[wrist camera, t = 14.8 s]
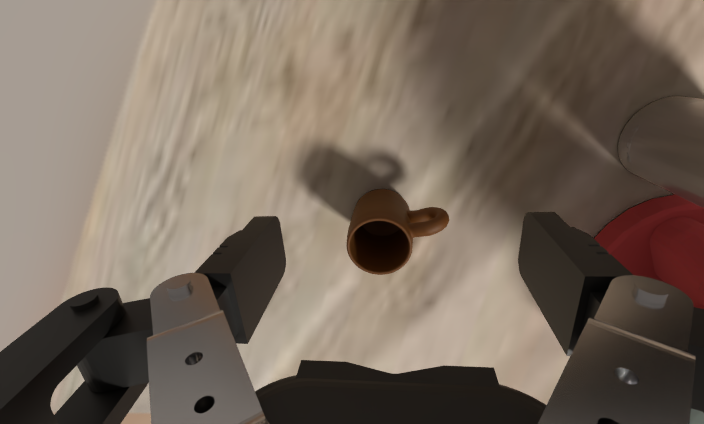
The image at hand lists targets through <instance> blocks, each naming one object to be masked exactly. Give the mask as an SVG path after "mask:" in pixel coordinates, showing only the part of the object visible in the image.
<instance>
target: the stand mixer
mask: <svg viewBox="0 0 704 424" xmlns="http://www.w3.org/2000/svg"><path fill="white" fill-rule="evenodd" d="M594 239H595V240H596V241H597V242H598V243H599V244H600V246H602V247H603V248H605V249H606V250H607V251H608V252H609V254H611V255H612V256H613V257H614V258H615V259H617V260H618V261H619V262H620V263H621V264H622V265H623V266H624V267H625V268H626V269H627V270H629V271H630V272H631V273H632V274H633V275H636V276H643V277H649V278H653V279H656V280H659V281H662V282H665V283H668V284H670V285H672V286H674V287H676V288H678V289H680V290H681V291H682V292H684V293H685V294H686V295H688V296H689V297H690V299H691V300H692V302H693V305H694V307H696V308H701V309H704V208H702V207H700V206H698V205H696V204H694V203H692V202H690V201H688V200H686V199H684V198H682V197H680V196H678V195H676V194H675V195H670V196H665V197H660V198H654V199H650V200H648V201H646V202H644V203H641V204H639V205H637V206H635V207H632V208H630V209H628V210H627V211H625V212H624V213H623V214H621V215H620V216H618V217H617V218H616V219H614V220H613V221H611V222H610V223H609V224H607V225H606V226H605V228H604V229H603V230H602V231H601V232H600V233H599V234H598V235H597V236H596V237H595V238H594ZM690 424H704V413H703V412H702V411H698V410H695V409H691V413H690Z"/></svg>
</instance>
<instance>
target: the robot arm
mask: <svg viewBox="0 0 704 424" xmlns="http://www.w3.org/2000/svg"><path fill="white" fill-rule="evenodd" d="M618 153H619V158H620V160H621V163H622V164H623V165H624V167H625V168H626V169H627V170H629V171H630V172H631V173H633V174H635V175H637V176H639V177H641V178H643V179H645V180H647V181H649V182H651V183H653V184H655V185H657V186H659V187H661V188H663V189H665V190H668V191H670V192H672V193H674V194H676V195H678V196H680V197H682V198H684V199H686V200H688V201H690V202H692V203H694V204H696V205H698V206H700V207H702V208H704V99H699V98H692V97H684V96H672V97H667V98H662V99H659V100H657V101H655V102H652V103H650V104H648V105H647V106H645V107H644V108H642V109H641V110H640V111H638V112H637V113H636V114H635V115H634V116H633V117H632V118H631V119H630V120H629V122H628V123H627V124H626V126H625V127H624V129H623V131H622V133H621V136H620V139H619V144H618ZM518 264H519V271H520V274H521V276H522V278H523V280H524V282H525V284H526V285H527V287H528V289H529V291H530V292H531V294H532V296H533V298H534V299H535V301H536V303H537V305H538V306H539V308H540V310H541V312H542V313H543V315H544V317H545V319H546V320H547V322H548V324H549V326H550V327H551V329H552V331H553V332H554V334H555V336H556V338H557V339H558V341H559V343H560V345H561V346H562V348H563V350H564V352H565V353H566V355H567V356H570V358H569V360H568V362H567V364H566V366H565V368H564V370H563V373H562V375H561V377H560V379H559V381H558V383H557V385H556V387H555V389H554V391H553V393H552V395H551V397H550V399H549V401H548V404H547V405H545V404H544V403H542V402H540V401H538V400H537V399H535V398H533V397H531V396H529V395H527V394H525V393H522V392H520V391H518V390H515V389H512V388H509V387H507V386H503V385H499V383H498V380H497V377H496V373H495V370H494V368H488V367H462V366H440V367H434V368H428V369H423V370H417V371H411V372H406V373H400V374H391V373H386V372H382V371H379V370H375V369H371V368H367V367H364V366H360V365H356V364H352V363H348V362H335V361H310V360H301V363H300V366H299V370H298V373H297V375H296V376H291V377H287V378H284V379H280V380H278V381H275V382H273V383H270V384H268V385H266V386H264V387H262V388H260V389H259V390H257V391H254V388H253V386H252V383H251V381H250V378H249V375H248V373H247V370H246V368H245V365H244V363H243V360H242V358H241V355H240V353H239V350H238V348H237V345H236V343H242V344H248V342H249V340H250V338H251V337H252V335H253V333H254V331H255V329H256V327H257V325H258V323H259V321H260V319H261V317H262V315H263V313H264V311H265V309H266V308H267V306H268V304H269V302H270V300H271V298H272V296H273V294H274V292H275V290H276V288H277V286H278V284H279V282H280V280H281V279H282V277H283V275H284V272H285V267H286V257H285V250H284V245H283V239H282V233H281V227H280V222H279V219H278V218H277V217H276V216H262V217H254V218H253V219H252V220H251V221H250V222H249V223H248V224H247V225H246V226H245V228H244V229H243V230H240V231H238V232H236V233H235V234H233V235H231V236H229V237H228V238H227V239H226V240H225V241H224V242H223V243H222V244H221V245H220V248H217V249H216V250H215V251H214V252H213V255H211V256H210V257H209V258H208V259H207V260H206V261H205V262H204V263H203V264H202V265H201V266H200V267H199V268H198V270H197V271H196V272H195V273H187V274H182V275H178V276H175V277H172V278H170V279H168V280H166V281H164V282H162V283H161V284H159V285H158V286H157V287H156V288H155V289H154V290H153V291H152V292H151V295H150V298H149V299H143V300H138V301H132V302H127V303H122V301H121V298H120V296H119V293H118V291H117V290H116V289H113V288H98V289H93V290H90V291H86V292H83V293H81V294H78V295H76V296H74V297H72V298H70V299H68V300H67V301H65V302H63V303H62V304H61V305H59V306H58V307H57V308H55V309H54V310H53V311H52V312H51V313H49V314H48V315H47V316H45V317H44V318H43V319H42V320H40V321H39V322H38V323H36V324H35V325H34V326H33V327H31V328H30V329H29V330H28V331H26V332H25V333H24V334H23V335H21V336H20V337H19V338H17V339H16V340H15V341H14V342H12V343H11V344H10V345H9V346H7V347H6V348H5V349H4V350H2V351H1V352H0V424H120V423H121V422H122V420H123V419H124V417H125V416H126V415H127V413H128V412H129V410H130V409H131V408H132V406H133V405H134V403H135V402H136V400H137V399H138V397H139V396H140V395H141V393H142V392H143V390H144V389H145V387H146V386H147V384H148V383H149V391H150V408H151V424H690V413H691V409H695V410H698V411H702V412H703V413H704V309H701V308H696V307H694V305H693V302H692V300H691V299H690V297H689V296H688V295H686V294H685V293H684V292H682V291H681V290H680V289H678V288H676V287H674V286H672V285H670V284H668V283H665V282H662V281H659V280H656V279H653V278H649V277H643V276H636V275H633V274H632V273H631V272H630V271H629V270H627V269H626V268H625V267H624V266H623V265H622V264H621V263H620V262H619V261H618V260H617V259H615V258H614V257H613V256H612V255H611V254H609V252H608V251H607V250H606V249H605V248H603V247H602V246H600V244H599V243H598V242H597V241H596V240H595V239H594V238H593V237H591V236H590V235H589V234H587V233H585V232H583V231H581V230H578V229H576V228H574V227H569V226H568V225H567V224H566V223H565V222H564V221H563V220H562V219H561V218H560V217H559V216H558V215H557V214H556V213H555V212H528V213H526V215H525V217H524V221H523V228H522V235H521V242H520V250H519V258H518ZM76 365H77V366H78V368H79V370H80V372H81V374H82V376H83V378H84V380H85V381H84V382H83V383H82V385H81V386H80V387H79V388H78V389H77V390H76V391H75V392H74V394H73V395H72V396H71V397H70V398H69V399H68V400H67V401H66V402H65V404H64V405H63V406H62V407H61V408H60V409H59V410H58V411H57V413H56V414H55V415H54V414H53V412H52V410H51V407H50V402H51V397H52V394H53V392H54V390H55V388H56V387H57V385H58V384H59V383H60V382H61V381H62V380H63V379H64V378H65V377H66V376H67V375H68V374H69V373H70V372H71V371H72V369H73V368H74V367H75V366H76Z"/></svg>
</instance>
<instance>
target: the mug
mask: <svg viewBox="0 0 704 424" xmlns="http://www.w3.org/2000/svg"><path fill="white" fill-rule="evenodd" d="M448 222H449V215H448V214H447V212H446V211H445V210H443V209H441V208H437V207H429V208H424V209H420V210H415V211H410V210H409V207H408V205H407V203H406V201H405V200H404V199H403V198H402V197H401V196H400V195H399V194H397V193H396V192H394V191H391V190H387V189H376V190H372V191H370V192H368V193H366V194H365V195H363V196H362V197H361V198H360V199H359V201H358V202H357V204H356V206H355V209H354V212H353V216H352V219H351V222H350V226H349V230H348V235H347V251H348V254H349V256H350V258H351V260H352V261H353V262H354V264H355V265H356V266H358V267H359V268H360V269H362V270H364V271H366V272H368V273H372V274H378V275H383V274H389V273H392V272H395V271H397V270H399V269H400V268H402V267H403V266H404V265H405V264H406V263H407V261H408V260H409V258H410V256H411V253H412V243H413V238H414V237H421V236H429V235H433V234H436V233H438V232H440V231H442V230H443V229H444V228H445V227H446V226H447V224H448Z"/></svg>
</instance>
